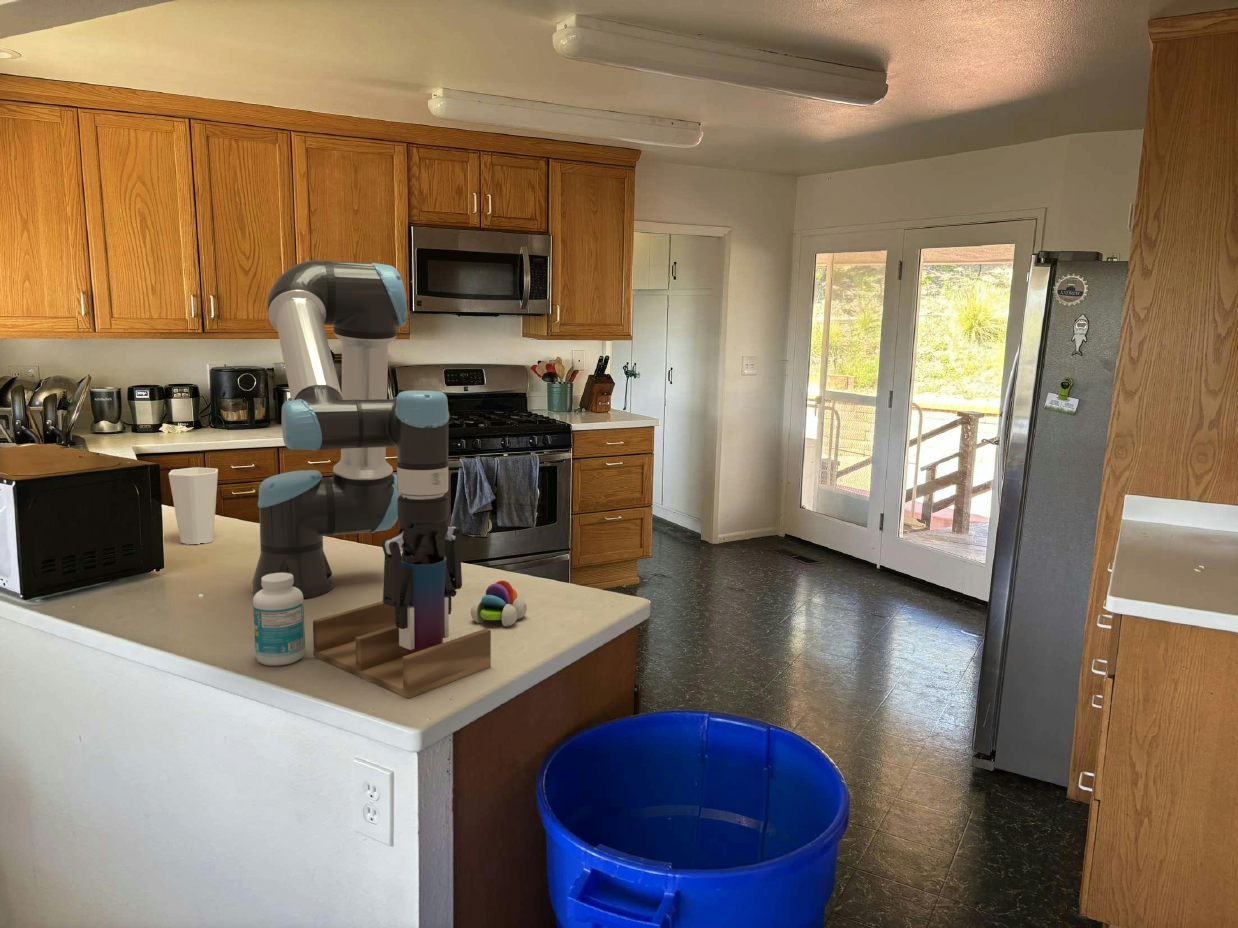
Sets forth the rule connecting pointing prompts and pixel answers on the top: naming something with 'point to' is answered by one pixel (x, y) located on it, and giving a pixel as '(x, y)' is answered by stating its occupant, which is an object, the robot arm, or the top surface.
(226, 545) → the top surface
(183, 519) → the cup
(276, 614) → the pill bottle
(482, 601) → the rainbow disc stack
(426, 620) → the cup
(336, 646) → the rack
